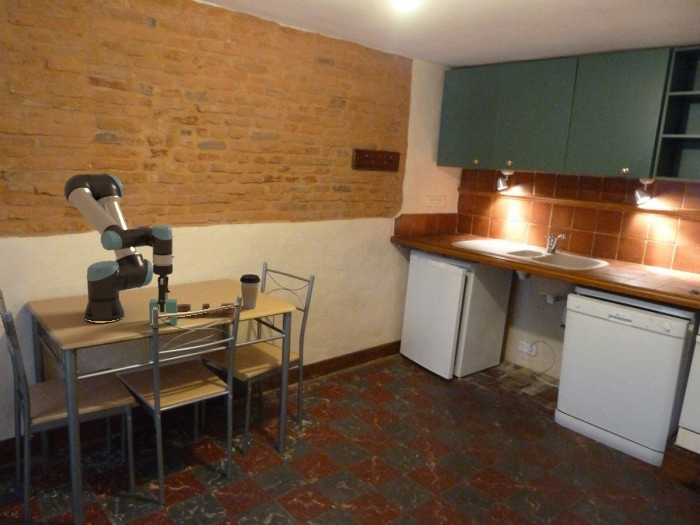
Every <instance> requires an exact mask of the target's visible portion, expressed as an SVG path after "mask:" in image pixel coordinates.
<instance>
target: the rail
mask: <svg viewBox="0 0 700 525" xmlns="http://www.w3.org/2000/svg"><path fill="white" fill-rule="evenodd" d="M228 305H234V306H235V303H234V302H231V303H230V302H229V303H228V302H227V303H226V302H225V303H224V302H223V303H221V304H220V308H221V307H222V306H228ZM191 306H192V305H191V303H177V312H188V311H191V312H192V309H191ZM201 308H202V310H204V309H208V308H210V309H211V305H210V303H202V307H201ZM202 310H201V311H202ZM211 311H212V312H207V313H202V314H197V315H191V316H185V317H177V319H198V318H199V319H200V318H201V319H204V318H206V319H207V318H234V317H235V307H234V308H228V309H222V310H221V309H220V310H211Z"/></svg>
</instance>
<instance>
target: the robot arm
mask: <svg viewBox="0 0 700 525" xmlns="http://www.w3.org/2000/svg"><path fill="white" fill-rule="evenodd" d="M123 190H124V187H123V184H122V182H121V180H120V179H119V177H117V176H116V175H114V174H111V173H90V174H89V173H78V174H75V175H73V176H71V177H69V178H68V180H66V182H65V185H64V187H63V194H64V198H65V200H66V201H67V203H68V204H70V206H71V207H73V208H77V210H78V211H79V212H80V213H81V214H82V216H84V218H86V220H87V221H88V222H89V223H90V224H91V225H92V226H93V228H94V229H95V230H96V231H97V232H98V233H99V235H100V244H101V246H102V248H103V249H104V250H106V251H113V252H114V254H115V257H116V258H115V260H102V261H98V262H95V263H92V264H90V265H89V266H88V268H87V269H86V270H87V271H86V272H87V273H86V281H87V297H88V298H87V299H88V301H87V303H86V304H87V305H86V306H85V311H84V317H83V318H85V319H87V320H91V321H112V320H117V319H120V318H122V317H124V318H125V311H124V310H125V309H124V308H123V306H122V305H123V304H122V302H121V299H120V292H122V291H126V290H133V289H136V288H138V289H139V288H142V287H145V286H148V285H149V284H151V282H152V280H153V276H154V275H157V276H158V277H157V288H158V293H157V296H158V298H157V299H158V302H157V304H158V305H159V313H160V314H166V302H165V299H169V294H171V290H169V279H170V278H169V276H168V275H172V274H173V271H174V269H173V259H174V258H175V255H173V229H172V227H171V226H170V225H165V224H164V225H163V224H159V225H158V224H157V225H154V226H152V227H150V226H148V225H147V226H146V225H139V226H137V227H136V228H129V227H128V223H127V221H126V218H125V216H124V214H123V210H122V208H121V204H120V203H121V202H122V197H123V196H124V191H123ZM140 247H141V248H142V247H149V248H152V262H151V261H150V260H149V259H148V258H147V259H146V258H144V256H143V254H142V253H140V252H138V250H137V248H140ZM85 319H84V320H85ZM161 320H167V317H166V318H162V319H161Z"/></svg>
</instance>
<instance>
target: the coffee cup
mask: <svg viewBox="0 0 700 525" xmlns="http://www.w3.org/2000/svg"><path fill="white" fill-rule="evenodd" d="M239 282H240V284H241V285H240V287H241V298H242V308H243V309H245V308H246V309H245V310H253V309H252V308H254V309H256V307H257V306H256V305H257V300H258V294H259V287H260V286H259V285H260V284H259V283H260V282H261V278H260V276H259V275H257V274H253V273H252V274H251V273H245V274H243V275H242V276H241V277H240V278H239Z"/></svg>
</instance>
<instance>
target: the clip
mask: <svg viewBox="0 0 700 525" xmlns="http://www.w3.org/2000/svg"><path fill="white" fill-rule="evenodd" d="M157 302H158V298H157V299H155V298H154V299H153V298H152V299H149V303H148V304H149V305H148V306H149V308H148V309H149V311H148V312H149V313H148V314H149V325H150V324H152V309H153V307H156V308H158V310H159V305H158V304H157ZM165 302H166V313H177V304H178V299H177V298H176V299H175V298H174V299H172V298H168V299H165ZM169 319H170V320H169V322H170V323H169V325H170V324H171V325H170V326H177V325H178V318H177V317H170V316H169Z"/></svg>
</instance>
